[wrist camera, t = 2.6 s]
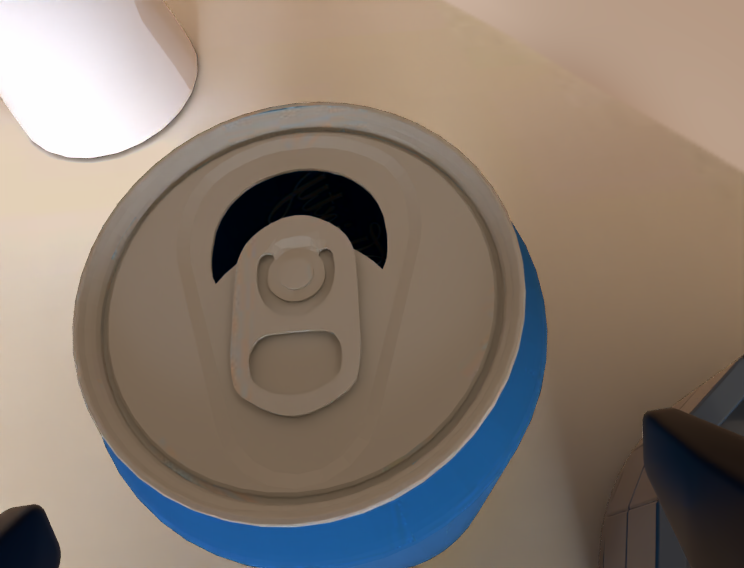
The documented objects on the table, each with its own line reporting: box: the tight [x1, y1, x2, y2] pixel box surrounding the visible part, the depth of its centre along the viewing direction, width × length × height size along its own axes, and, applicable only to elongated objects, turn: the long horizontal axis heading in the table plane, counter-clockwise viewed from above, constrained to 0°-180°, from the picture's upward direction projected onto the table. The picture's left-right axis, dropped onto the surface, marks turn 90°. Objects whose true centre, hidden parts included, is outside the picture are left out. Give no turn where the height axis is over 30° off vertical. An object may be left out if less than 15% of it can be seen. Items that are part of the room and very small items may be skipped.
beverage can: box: [73, 102, 547, 568], centre depth 13 cm, size 6×6×12 cm
